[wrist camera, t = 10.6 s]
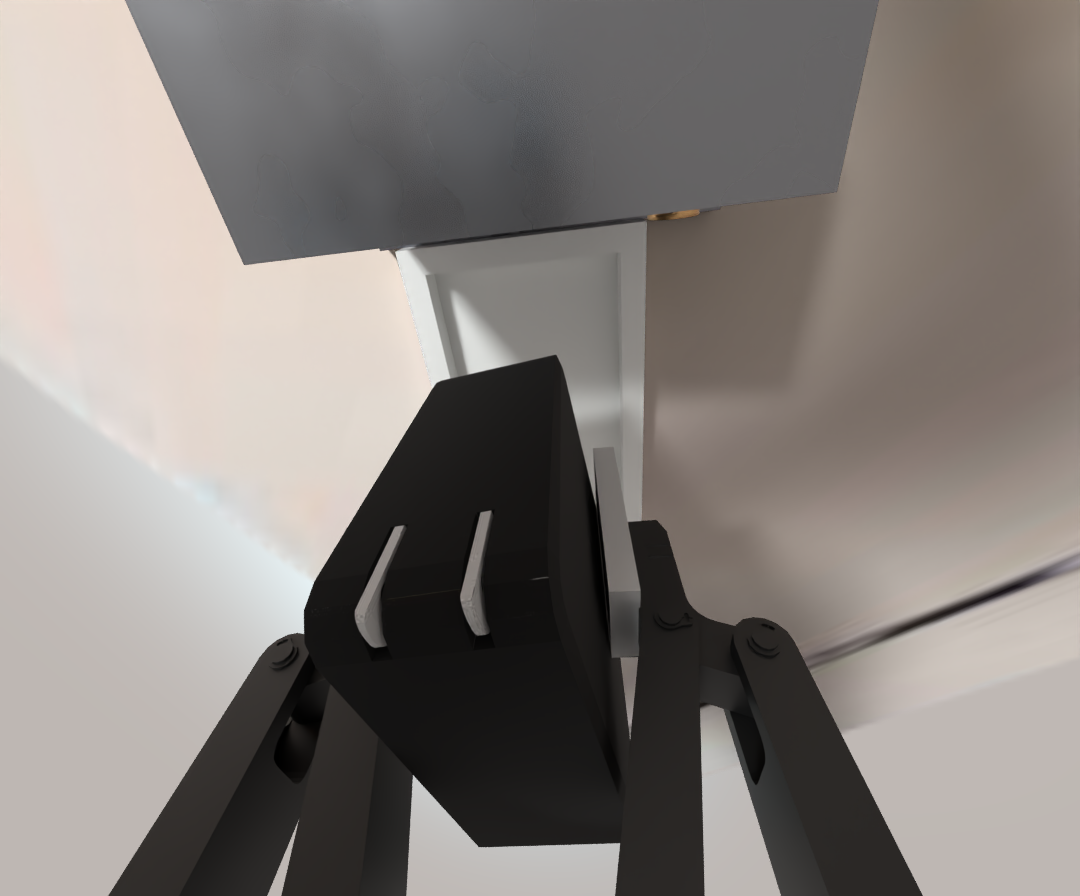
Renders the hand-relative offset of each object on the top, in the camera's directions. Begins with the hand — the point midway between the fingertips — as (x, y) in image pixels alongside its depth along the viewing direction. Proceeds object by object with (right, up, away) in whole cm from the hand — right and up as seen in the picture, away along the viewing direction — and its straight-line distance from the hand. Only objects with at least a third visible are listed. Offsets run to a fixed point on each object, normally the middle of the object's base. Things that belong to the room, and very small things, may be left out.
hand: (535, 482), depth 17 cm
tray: (0, +4, +6) cm, 7 cm away
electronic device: (0, 0, 0) cm, 1 cm away
